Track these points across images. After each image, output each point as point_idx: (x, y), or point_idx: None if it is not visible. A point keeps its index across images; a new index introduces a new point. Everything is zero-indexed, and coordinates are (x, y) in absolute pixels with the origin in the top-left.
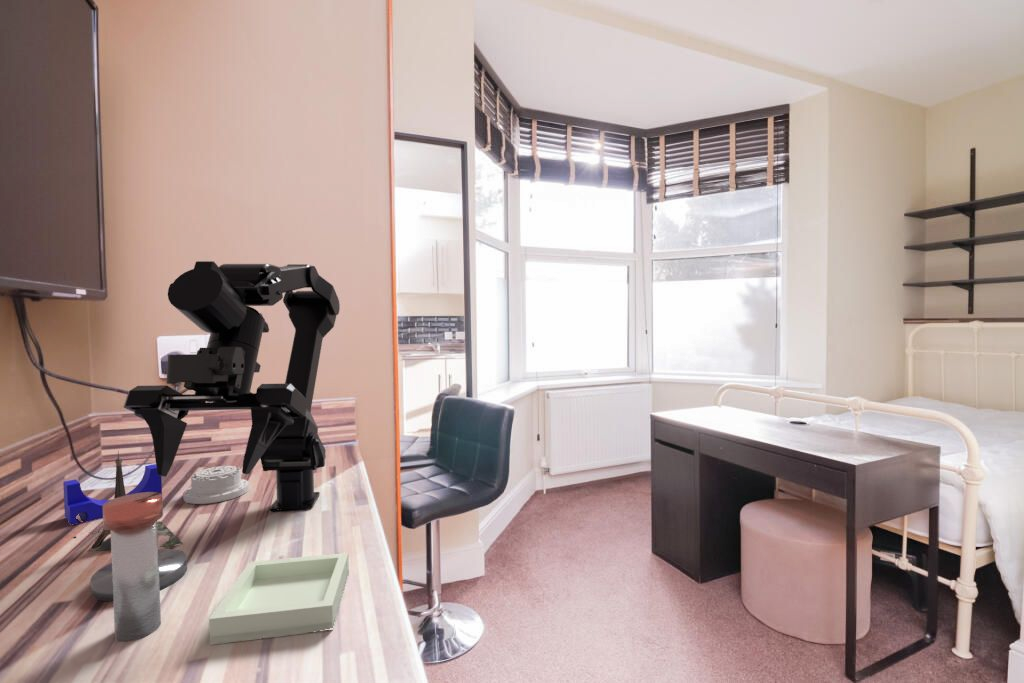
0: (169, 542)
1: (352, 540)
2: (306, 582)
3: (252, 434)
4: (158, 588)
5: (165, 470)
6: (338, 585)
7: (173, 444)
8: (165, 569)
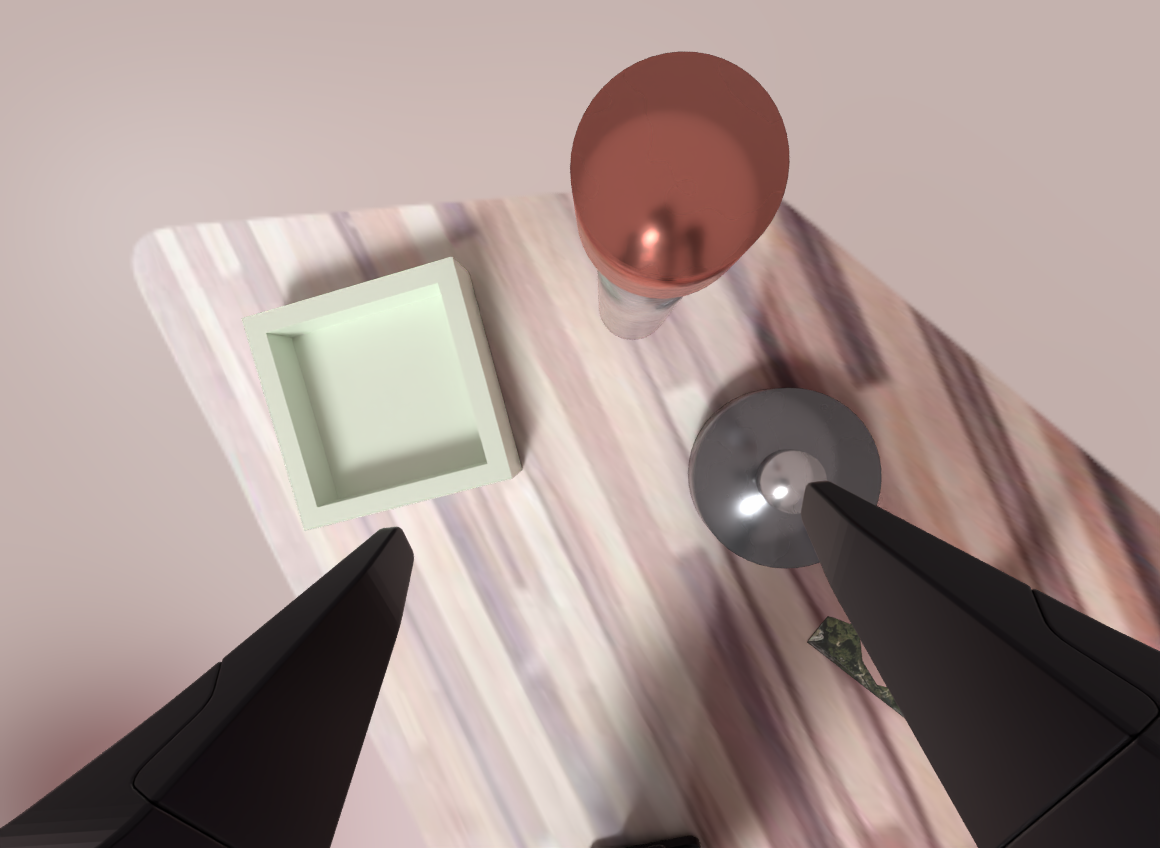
0: (849, 648)
1: (393, 666)
2: (385, 454)
3: (201, 723)
4: (601, 302)
5: (816, 521)
6: (264, 392)
7: (937, 704)
8: (717, 470)
